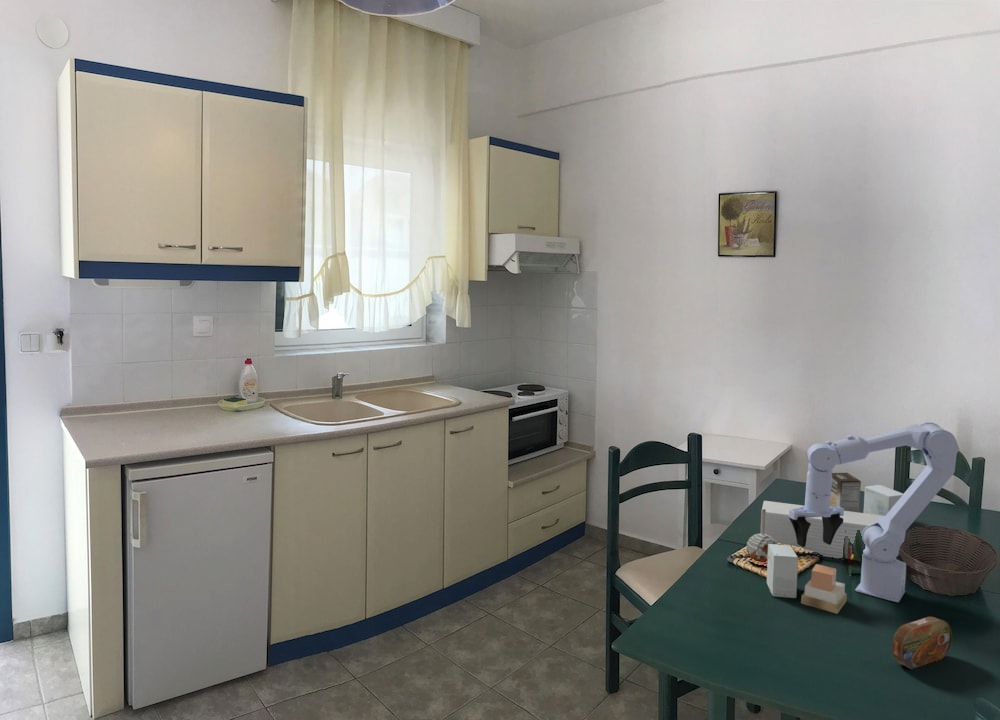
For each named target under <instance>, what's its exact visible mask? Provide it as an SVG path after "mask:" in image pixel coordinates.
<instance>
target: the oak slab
mask: <svg viewBox="0 0 1000 720" xmlns="http://www.w3.org/2000/svg"><path fill="white" fill-rule="evenodd" d="M847 595H848V594H847V592H844V595H843V596H842V598H841V599H840V600H839V602H838V603H837V604H833V603H829V602H826V601H822V600H819V599H815V598H812V597H808V596H805V591H804V592H803V593H802V594H801V599H800V604H803V605H805V606H809V607H813V608H816V609H819V610H822V611H826V612H829V613H833V614H835V615H836V614H839V612H841V611H840V610H842V608H843V607H844V606H845V604H846V603H847V598H848V597H847Z"/></svg>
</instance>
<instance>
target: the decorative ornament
mask: <svg viewBox="0 0 1000 720" xmlns="http://www.w3.org/2000/svg"><path fill="white" fill-rule="evenodd" d="M761 511H762V530H761V529H760V531H761V533H756V534H753V535H751V536H750V537H749V538H748V540H747V542H746V552H747V554H748V556H750V558H752V559H754V560H756V561H762V562H766V561H768V544H776V541H775V540H774V539H773V538H772V537H771V536H769V535H766V534H764V532H765V511H766V509H762V508H761Z"/></svg>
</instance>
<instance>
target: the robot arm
mask: <svg viewBox="0 0 1000 720" xmlns="http://www.w3.org/2000/svg"><path fill="white" fill-rule="evenodd" d="M904 446H907V447H909V448H913V449H916V450H918V451H919V450H920V451H922V452H923V456H924V460H925V463H926V466H925V467H924V468H923V470H922V471H921V472H920V474H919V475H918V476H917V477H916V478H915V480H914V481H913V482H912V483H911V484H910V486H908V488H907V489H906V491H904V493H903V495H902V496H901V498H900V499H899V500H898V501H897V502H896V504H895V505H894V506H893V507H892V509H891V510H890V511H889V512H888V513H887V515H886V516H883V517H881V518H878V519H877V520H876V522H875V523H873V524H871V525H869V526H867V527H866V528H865V529H864V530H863V532H862V540H863V542H864V543H865V544H866V547H865V549H864V550H863V554H862V562H861V568H860V569H861V571H860V572H861V573H860V583H858V585H857V586H856V588H855V591H856V592H858V593H861V594H865V595H868V596H871V597H872V596H873V597H876V598H880V599H882V600H883V599H884V600H887V601H891V602H895V603H899V602H900V601H901V599H902V598H903V596H904V594H905V592H906V577H907V563H906V562H905V561H901V560H899V559H897V557H898V556H899V553H900V550H901V549H900V547H901V545H903V543H904V542H905V539H906V531H907V530H908V529H909V528H910V526H911V525H912V524H913V523H914V522H915V520H916V519H918V517H919V516H920V515H921V513H923V511H924V510H925V509H926V508H927V506H928V505H929V504H930V503H931V501H932V500H933V499H934V498H935V496H936V495H937V494H938V493H939V492H940V491H941V489H943V487H944V486H945V485H946V484H947V482H948V481H949V480H951V478H952V476H954V474H955V472H956V471H955V470H956V463H957V454H958V452H959V451H960V447H959V444H958V441H957V439H956V437H955V435H954V434H953V433H952V432H950V431H948V430H947V429H946V430H945V428H942V427H941V426H940V425H938V424H937V423H935V422H923V423H921V424H912V425H911V424H910V425H908V426H906V427H902V428H900V429H899V428H898V429H895V430H893V431H889V432H885V433H881V434H878V435H874V436H871V437H868V438H862V437H861V436H857V435H856V436H853V435H852V434H849V435H846V436H845V438H842V439H838V440H835V441H831V440H826V441H825V443H821V442H819V443H814V444H812V445H811V446H810V447H809V448H808V449H807V452H806V453H805V455H806V458H807V460H808V464H807V465H808V466H807V473H806V481H805V483H806V484H805V496H804V498H805V499H804V505H802V506H803V507H800V508H797V509H792V510H789V519H790V521H791V523H792V525H793V528H794V530H795V534H796V539H797V544H798V545H800V546H801V547H805V545H806V539H807V533H808V529H809V527H810V525H811V523H809V522H807V521H806V520H805V518H809V517H822V521H823V542H825V543H826V544H828V545H831V543H832V540H833V538H834V535H835V533H836V531H837V529H838V528H839V527H840V525H841V524H842V523H843V518H841V517H840V516H844V508H842V507H839V506H830V499H831V487H832V473H833V470H834V468H835V467H836V465H837V466H840V465H844V464H847V463H854V462H856V461H860V460H865V459H866V458H867V457H868V456H869V454H870V453H873V452H877V451H883V450H889V449H894V448H898V447H899V448H900V447H904Z"/></svg>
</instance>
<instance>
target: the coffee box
mask: <svg viewBox="0 0 1000 720" xmlns="http://www.w3.org/2000/svg"><path fill="white" fill-rule="evenodd" d="M861 485H862V481H861V480H860V479H858V478H856V477H855V476H853V475H852V474H851V473H849V472H832V487H831V499H830V506H839V507H842V508H844V511H850V512H858V513H860V502H861V501H860V499H861Z"/></svg>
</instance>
